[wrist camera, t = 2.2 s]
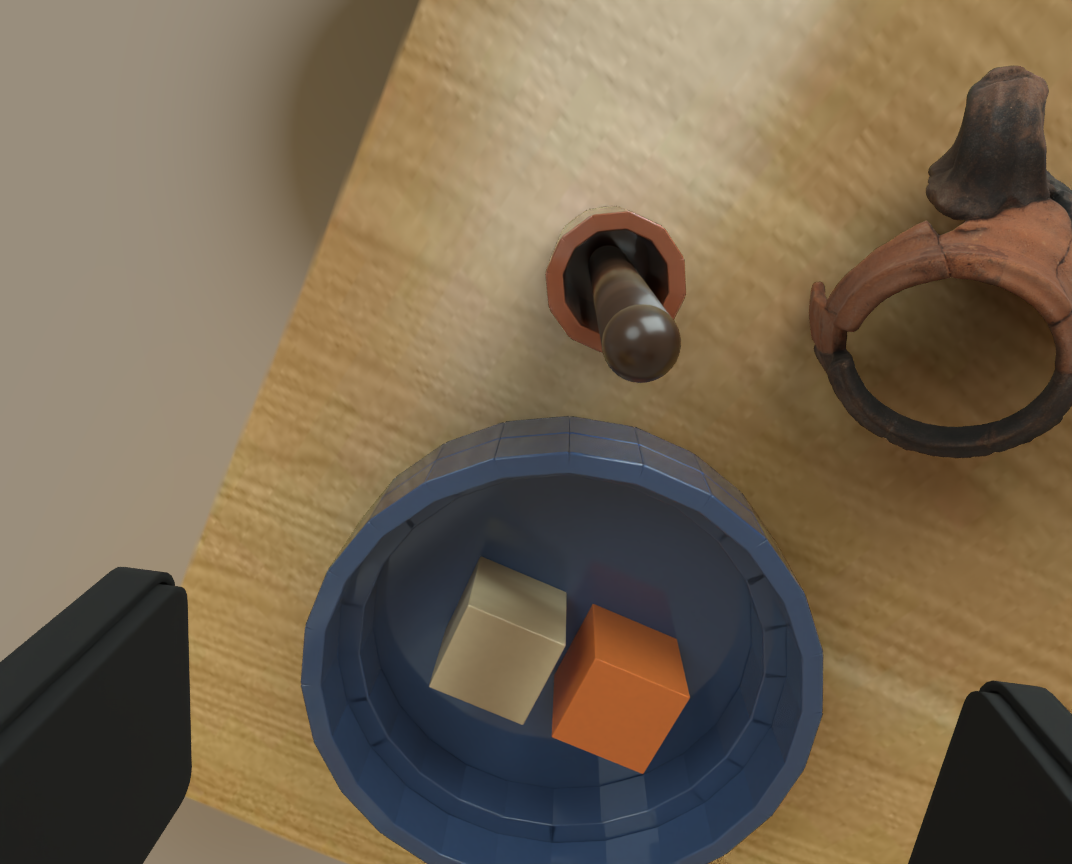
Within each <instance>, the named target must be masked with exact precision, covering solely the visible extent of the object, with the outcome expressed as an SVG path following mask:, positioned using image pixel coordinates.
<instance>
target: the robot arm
mask: <svg viewBox="0 0 1072 864" xmlns="http://www.w3.org/2000/svg"><path fill="white" fill-rule="evenodd" d="M191 770H192V761H191V720H190V680H189V640H188V600H187V593H186V591H185V589H184V588H182V587H178V586H175V582H174V580H173V578H172V576H171V575H170V574H169V573H166V572H158V571H151V570H143V569H135V568H128V567H117V568H115V569H114V570H112V571H110V572H109V573H108V574H107V575H106V576H104V577H103V578H102V579H101V580H100V581H98V582H97V583H96V584H95V585H93V586H92V587H91V588H90V589H89V590H87V591H86V592H85V593H84V594H83V595H81V596H80V597H79V598H78V599H77V600H75V601H74V602H73V603H72V604H71V605H69V606H68V607H67V608H66V609H64V610H63V611H62V612H61V613H59V614H58V615H57V616H56V617H55V618H53V619H52V620H51V621H50V622H49V623H48V624H46V625H45V626H44V627H42V628H41V629H40V630H39V631H38V632H37V633H35V634H34V635H33V636H32V637H30V638H29V639H28V640H27V641H25V642H24V643H23V644H22V645H21V646H19V647H18V648H17V649H16V650H15V651H14V652H12V653H11V654H10V655H8V656H7V657H6V658H5V659H4V660H2V661H1V662H0V864H143V862H144V861H145V859H146V858H147V856H148V855H149V853H150V851H151V850H152V848H153V847H154V845H155V844H156V842H157V840H158V839H159V837H160V836H161V834H162V833H163V831H164V830H165V828H166V826H167V825H168V823H169V822H170V820H171V819H172V817H173V815H174V814H175V812H176V811H177V809H178V808H179V806H180V804H181V803H182V801H183V799H184V797H185V795H186V792H187V789H188V786H189V783H190V778H191ZM908 864H1072V714H1071V713H1070V712H1069V711H1068V710H1067V709H1066V708H1065V707H1064V706H1063V705H1062V703H1061V702H1060V701H1059V700H1058V699H1057V698H1056V697H1055V696H1054V695H1053V694H1052V693H1051V692H1049V691H1048V690H1047V689H1045V688H1042V687H1038V686H1030V685H1023V684H1015V683H1007V682H1000V681H990V682H986V683H985V684H984V685H983V686H982V687H981V688H980V690H979V691H974V692H971V693H970V694H969V695H968V696H967V697H966V699H965V701H964V704H963V707H962V710H961V712H960V715H959V718H958V721H957V724H956V727H955V730H954V733H953V736H952V738H951V741H950V744H949V747H948V750H947V753H946V756H945V759H944V762H943V764H942V767H941V770H940V773H939V776H938V779H937V782H936V785H935V788H934V790H933V793H932V796H931V799H930V802H929V805H928V808H927V811H926V814H925V816H924V819H923V822H922V825H921V828H920V831H919V834H918V837H917V840H916V842H915V845H914V848H913V851H912V854H911V857H910V860H909V863H908Z"/></svg>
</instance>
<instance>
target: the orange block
mask: <svg viewBox="0 0 1072 864" xmlns="http://www.w3.org/2000/svg"><path fill="white" fill-rule="evenodd" d="M689 699H690V695H689V691H688V686H687V682H686V678H685V673H684V669H683V664H682V660H681V655H680V651H679V647H678V642H677V639H675V638H673V637H671V636H668V635H666V634H663V633H661V632H659V631H656V630H654V629H652V628H649V627H647V626H645V625H642V624H640V623H638V622H635V621H633V620H630V619H628V618H626V617H623V616H621V615H619V614H616V613H614V612H612V611H609V610H607V609H605V608H602V607H600V606H597V605H595V604H592V606H591V608H590V610H589V612H588V614H587V616H586V617H585V619H584V621H583V623H582V625H581V627H580V629H579V630H578V632H577V634H576V636H575V638H574V640H573V641H572V643H571V645H570V647H569V649H568V651H567V653H566V654H565V656H564V658H563V660H562V662H561V664H560V666H559V667H558V669H557V671H556V673H555V675H554V694H553V718H552V737H553V738H555V739H558V740H560V741H563V742H565V743H568V744H570V745H572V746H575V747H577V748H580V749H582V750H585V751H587V752H590V753H592V754H595V755H597V756H599V757H602V758H604V759H607V760H609V761H612V762H614V763H617V764H619V765H622V766H624V767H627V768H629V769H631V770H634V771H636V772H639V773H641V774H644V772H645V770H646V769H647V767H648V765H649V764H650V762H651V761H652V759H653V757H654V756H655V754H656V752H657V751H658V749H659V748H660V746H661V744H662V743H663V741H664V739H665V738H666V736H667V735H668V733H669V731H670V730H671V728H672V726H673V725H674V723H675V721H676V720H677V718H678V717H679V715H680V713H681V712H682V710H683V708H684V707H685V705H686V704H687V702H688V700H689Z"/></svg>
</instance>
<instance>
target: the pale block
mask: <svg viewBox="0 0 1072 864" xmlns="http://www.w3.org/2000/svg"><path fill="white" fill-rule="evenodd" d="M566 600H567V593H566V592H564V591H562V590H559V589H557V588H555V587H552V586H550V585H548V584H545V583H543V582H541V581H538V580H536V579H534V578H531V577H529V576H526V575H524V574H522V573H519V572H517V571H515V570H512V569H510V568H508V567H505V566H503V565H501V564H498V563H496V562H493V561H491V560H489V559H486V558H484V557H480V558H479V560H478V562H477V564H476V567H475V569H474V571H473V573H472V575H471V577H470V579H469V581H468V583H467V586H466V588H465V590H464V592H463V594H462V596H461V598H460V600H459V602H458V605H457V607H456V609H455V611H454V613H453V615H452V617H451V619H450V621H449V624H448V626H447V628H446V630H445V633H444V637H443V640H442V643H441V647H440V650H439V654H438V657H437V660H436V664H435V667H434V671H433V674H432V677H431V681H430V684H429V687H430V688H433V689H435V690H438V691H440V692H442V693H445V694H447V695H450V696H452V697H455V698H457V699H460V700H462V701H465V702H467V703H470V704H472V705H474V706H477V707H479V708H482V709H484V710H487V711H489V712H492V713H494V714H497V715H499V716H501V717H504V718H506V719H509V720H511V721H514V722H516V723H519V724H521V725H523V724H524V723H525V721H526V719H527V717H528V715H529V713H530V711H531V710H532V708H533V706H534V704H535V702H536V700H537V698H538V697H539V695H540V693H541V691H542V689H543V687H544V685H545V683H546V682H547V680H548V678H549V676H550V674H551V672H552V670H553V669H554V667H555V665H556V663H557V661H558V659H559V657H560V656H561V654H562V652H563V650H564V648H565V646H566Z"/></svg>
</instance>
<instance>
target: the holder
mask: <svg viewBox="0 0 1072 864" xmlns="http://www.w3.org/2000/svg"><path fill="white" fill-rule="evenodd" d="M608 245H609V246H614V247H617V248H618V249H620V250H621V251H622V252H623V253H624V255H625V256H626V257H627V259H628V260H629V261H630V263H631V264H632V265H633V267H634V268H635V269H636V271H637V272H638V273H639V275H640V276H641V277H642V279H643V280H644V281H645V283H646V284H647V285H648V287H649V288H650V289H651V291H652V292H653V293H654V295H655V296H656V297H657V299H658V300H659V301H660V302H661V304H662V305H663V306H664V308H665V309H666V310H667V312H668V313H669V314H670V316H671V317H672V318H673V320H674V318H675V316H676V314H677V312H678V310H679V309H680V307H681V305H682V303H683V301H684V299H685V295H686V284H685V261H684V259H683V255H682V254H681V252H680V251H679V249H678V248H677V246H676V245H675V243H674V242H673V240H672V239H671V237H670V236H669V234H668V232H667V231H666V229H665V228H663V227H662V226H661V225H659V224H657V223H655V222H653V221H650V220H648V219H646V218H644V217H642V216H640V215H638V214H636V213H634V212H631V211H629V210H626V209H624V208H621V207H617V206H612V207H600V208H593V209H588V210H586V211H585V212H583V213H582V214H580V215H579V216H577V217H576V218H575V219H573V220H572V221H571V222H570V223H568V224H567V225H566V226H565V227H564V228H563V230H562V232H561V234H560V236H559V239H558V241H557V243H556V245H555V248H554V250H553V252H552V255H551V258H550V260H549V263H548V266H547V269H546V274H545V275H546V286H547V296H548V306H549V308H550V311H551V313H552V314H553V316H554V317H555V318H556V320H557V321H558V323H559V324H560V325H561V327H562V328H563V330H564V331H565V332H566V334H567V335H568V337H571V339H572V340H574V341H577V342H579V343H581V344H583V345H585V346H588V347H590V348H592V349H594V350H596V351H599V352H602V346H601V340H600V334H599V328H598V322H597V316H596V310H595V305H594V299H593V293H592V287H591V281H590V275H589V269H588V262H589V259H590V256H591V255H592V253H593V252H594V251H595V250H596V249H598V248H600V247H602V246H608Z"/></svg>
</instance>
